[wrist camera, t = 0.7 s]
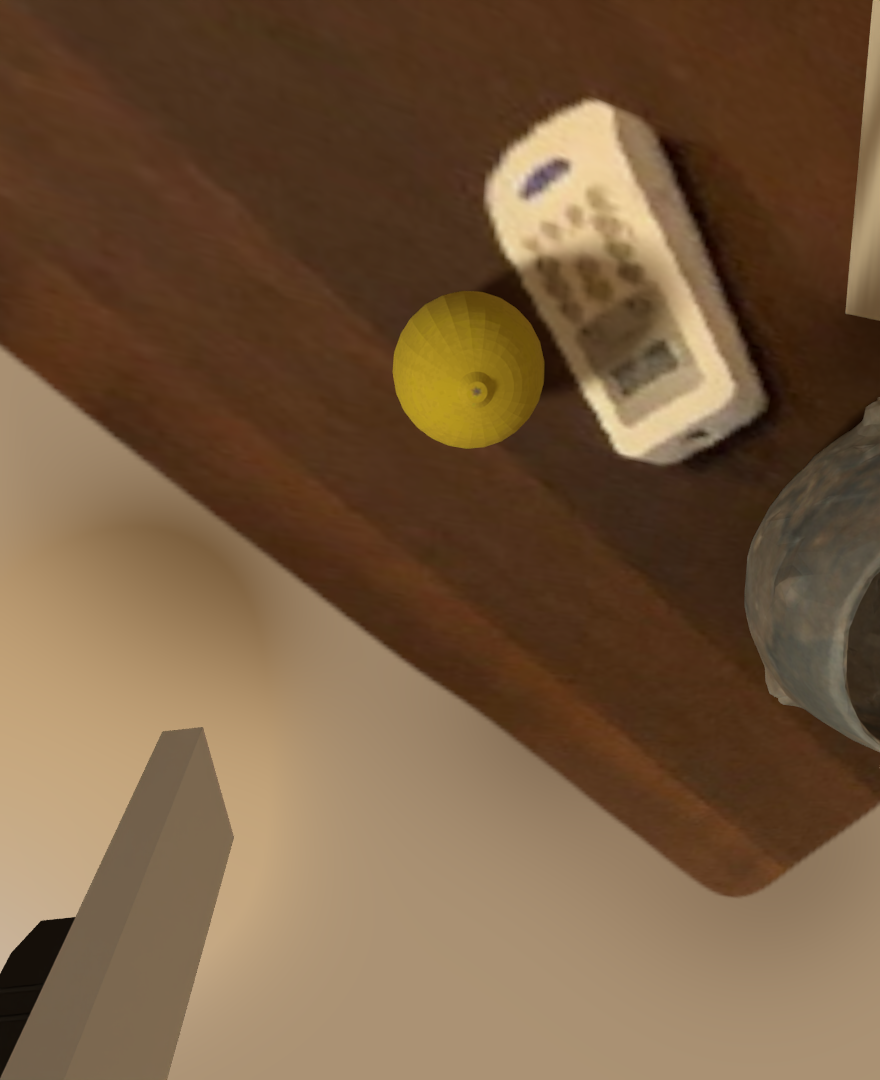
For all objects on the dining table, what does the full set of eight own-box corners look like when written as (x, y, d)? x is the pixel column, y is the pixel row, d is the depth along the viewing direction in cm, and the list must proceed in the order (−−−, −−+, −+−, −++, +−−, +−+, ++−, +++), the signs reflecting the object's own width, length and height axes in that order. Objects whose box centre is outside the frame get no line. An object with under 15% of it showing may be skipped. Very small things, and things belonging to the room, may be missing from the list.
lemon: (542, 301, 31) (585, 325, 23) (507, 430, 33) (535, 490, 26) (410, 268, 30) (410, 283, 23) (382, 402, 32) (374, 455, 25)
